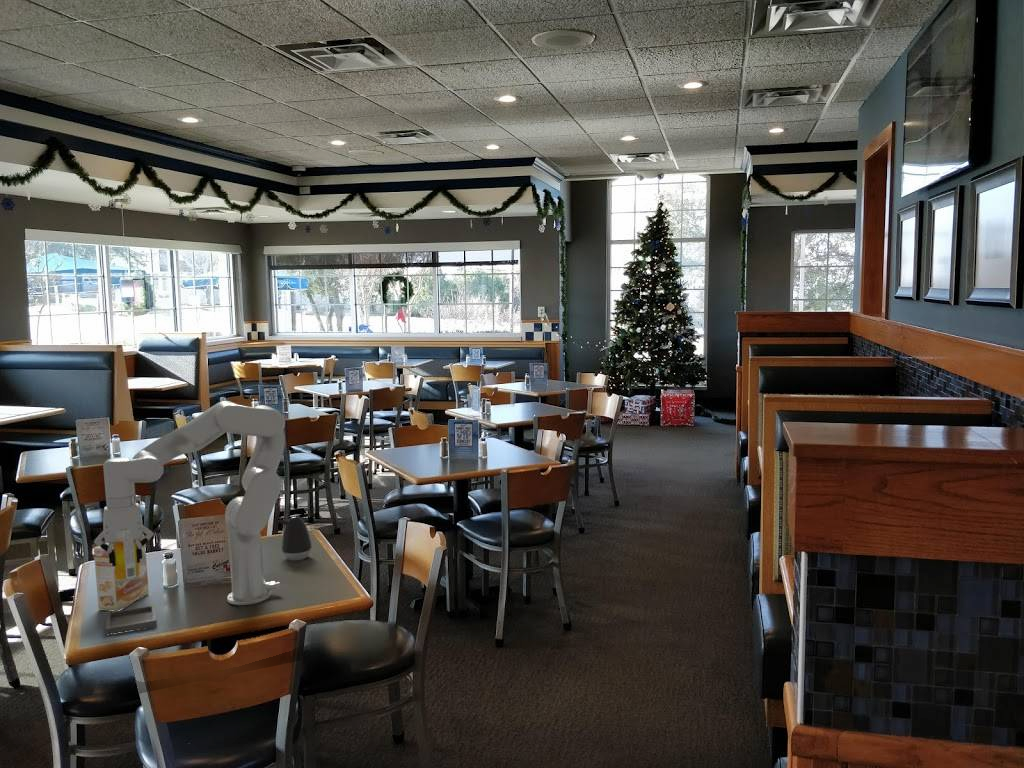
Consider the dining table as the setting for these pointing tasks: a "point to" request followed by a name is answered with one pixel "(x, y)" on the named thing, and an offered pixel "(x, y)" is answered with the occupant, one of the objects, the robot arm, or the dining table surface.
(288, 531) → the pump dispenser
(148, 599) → the dining table surface
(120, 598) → the coffeecake box
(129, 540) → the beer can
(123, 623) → the tray
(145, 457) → the robot arm
